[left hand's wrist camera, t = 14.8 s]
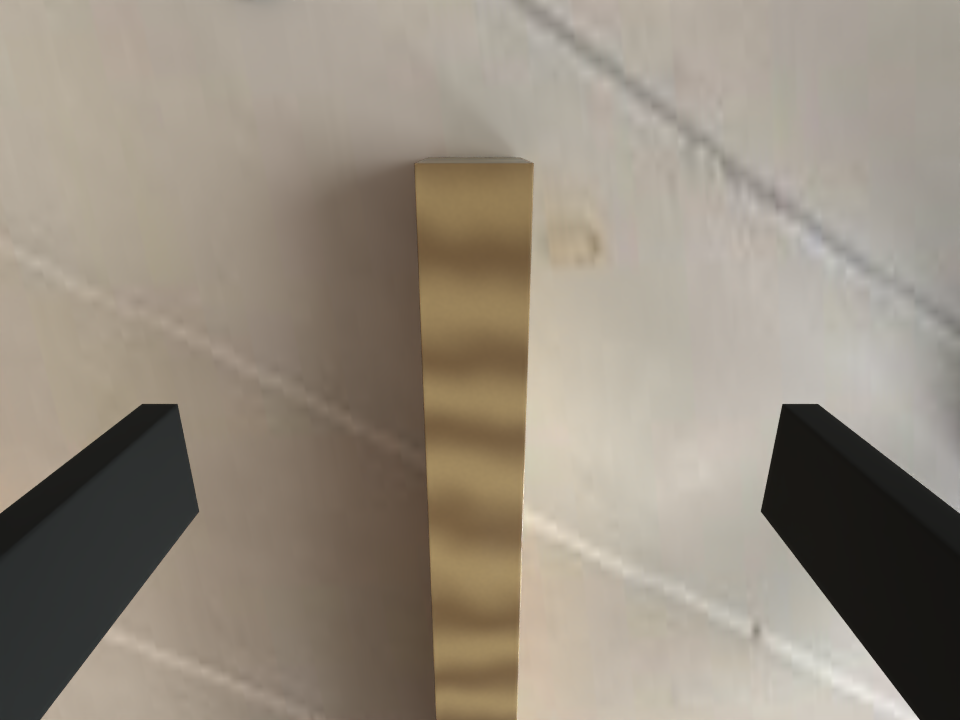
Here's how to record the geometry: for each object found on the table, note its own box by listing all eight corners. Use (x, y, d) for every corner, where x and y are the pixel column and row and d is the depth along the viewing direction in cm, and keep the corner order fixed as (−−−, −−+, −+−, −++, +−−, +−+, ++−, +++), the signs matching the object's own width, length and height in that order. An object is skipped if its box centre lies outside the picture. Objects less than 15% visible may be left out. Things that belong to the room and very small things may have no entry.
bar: (427, 157, 35) (414, 163, 27) (520, 157, 35) (533, 162, 27) (448, 830, 57) (444, 937, 49) (505, 829, 57) (510, 936, 49)
